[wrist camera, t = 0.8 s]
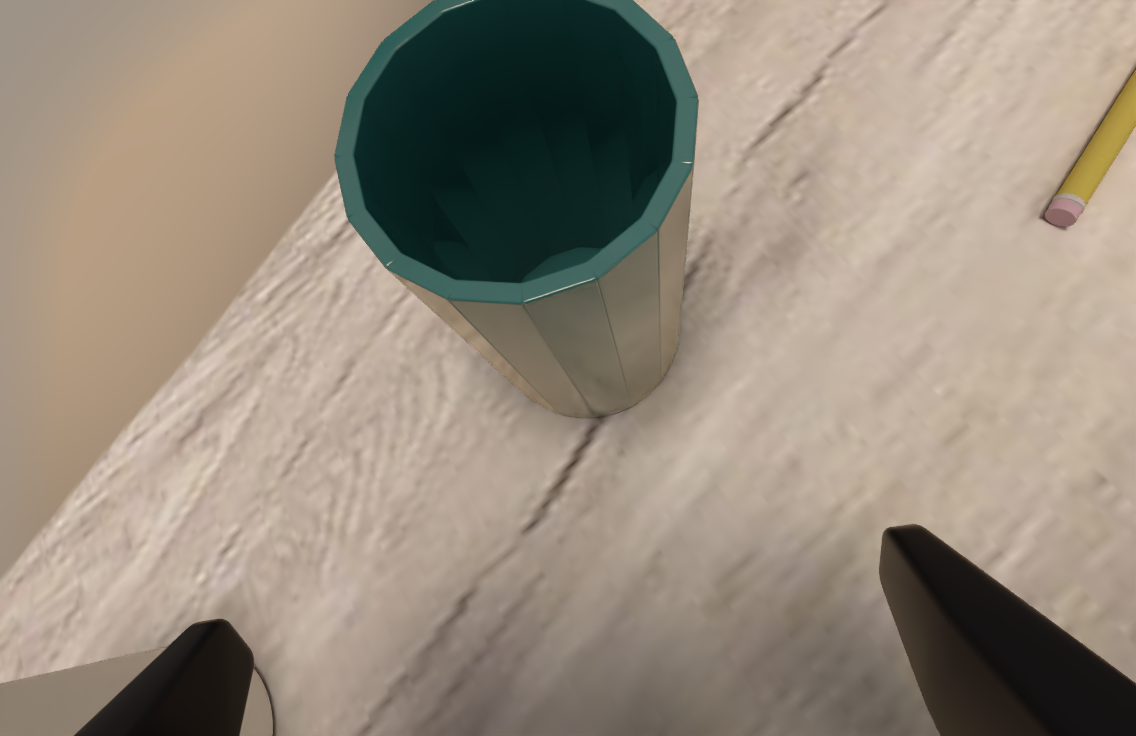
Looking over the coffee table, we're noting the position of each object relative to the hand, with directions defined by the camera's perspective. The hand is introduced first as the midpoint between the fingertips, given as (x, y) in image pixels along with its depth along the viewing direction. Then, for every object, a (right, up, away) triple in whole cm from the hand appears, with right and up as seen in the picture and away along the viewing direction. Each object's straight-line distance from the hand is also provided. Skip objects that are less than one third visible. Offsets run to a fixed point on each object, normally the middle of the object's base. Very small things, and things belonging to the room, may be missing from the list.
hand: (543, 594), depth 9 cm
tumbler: (+1, +5, +16) cm, 16 cm away
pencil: (+21, +14, +15) cm, 30 cm away
